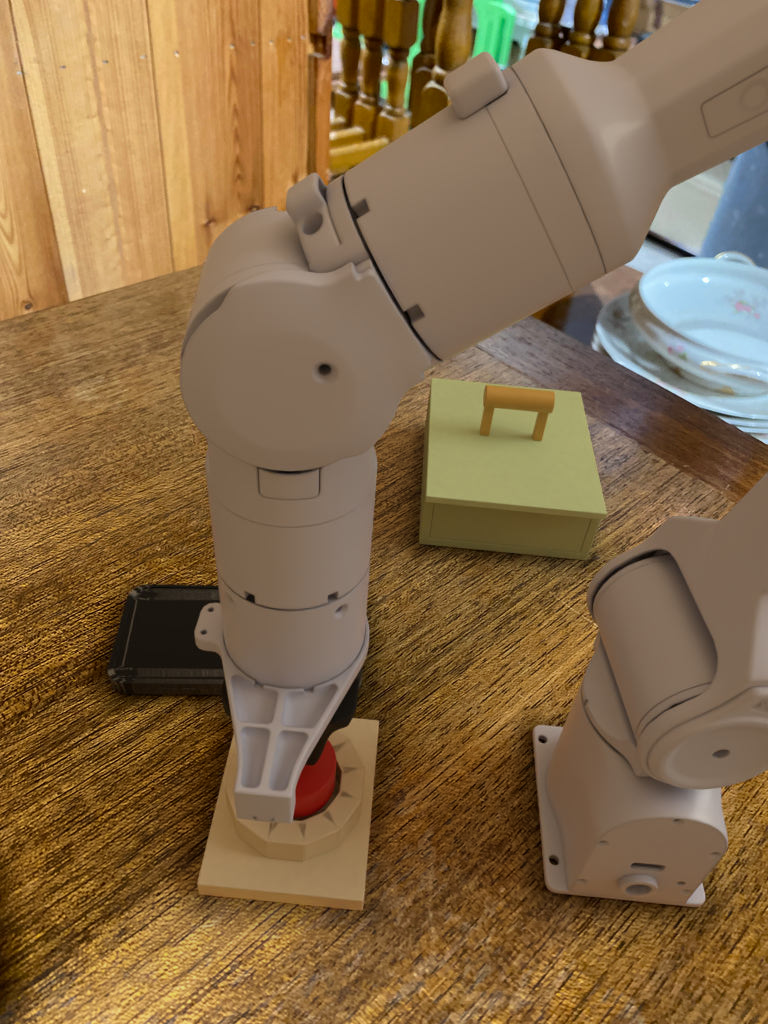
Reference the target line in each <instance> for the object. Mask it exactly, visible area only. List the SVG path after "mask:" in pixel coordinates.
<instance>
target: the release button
mask: <svg viewBox="0 0 768 1024" xmlns="http://www.w3.org/2000/svg"><path fill="white" fill-rule="evenodd" d="M335 776H336V754H335V751H334V748H333V746H332V744H331V743H330V742H329V740H327V742H326V745H325V747H324V750H323V752H322V754H321V756H320V758H319V760H318V761H317V763H316V764H315V765H313V766H312V765H305V766H304V767H303V769H302V771H301V774H300V776H299V779H298V782H297V785H296V789H295V798H296V803H295V809H294V815H293V818H301V817H305V816H308V815H311V814H313V813H315V812H317V811H318V810H320V809H321V808H322V807H323V806H324V805H325V804H326V803H327V802H328V801H329V799H330V797H331V796H332V794H333V791H334V787H335Z"/></svg>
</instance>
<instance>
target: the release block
mask: <svg viewBox="0 0 768 1024" xmlns="http://www.w3.org/2000/svg"><path fill="white" fill-rule="evenodd" d="M379 728H380V720H376V719H367V718H356V717H353V718H352V720H351V722H350V724H349V725H348V726H347V727H345V728H342V729H339V730H337V731H335V732H333V733H332V734H331V735H330V737H329V738H328V740H329V742H330V743H331V744H332V746H333V748H334V751H335V754H336V776H335V787H334V791H333V794H332V796H331V797H330V799H329V801H328V802H327V803H326V804H325V805H324V806H323V807H322V808H321V809H320V810H318V811H317V812H315V813H313V814H311V815H308V816H305V817H301V818H293V821H292V823H290V824H288V823H278V822H263V821H255V820H247V819H238V818H237V815H236V807H235V799H234V785H235V779H236V773H237V748H236V742H235V736H234V733H233V734H232V738H231V742H230V746H229V750H228V754H227V757H226V758H227V760H226V763H225V766H224V771H223V775H222V778H221V783H220V787H219V791H218V795H217V800H216V804H215V808H214V812H213V817H212V820H211V825H210V827H209V833H208V837H207V841H206V845H205V849H204V853H203V857H202V860H201V861H202V862H201V865H200V869H199V873H198V877H197V882H196V884H197V890H198V894H199V895H204V896H213V897H223V898H233V899H243V900H251V901H263V902H272V903H283V904H292V905H301V906H311V907H320V908H332V909H341V910H352V911H360V912H361V911H363V909H364V905H365V904H364V903H365V894H366V893H365V892H366V881H367V868H368V858H369V846H370V834H371V823H372V810H373V799H374V787H375V775H376V762H377V752H378V751H377V750H378V740H379Z"/></svg>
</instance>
